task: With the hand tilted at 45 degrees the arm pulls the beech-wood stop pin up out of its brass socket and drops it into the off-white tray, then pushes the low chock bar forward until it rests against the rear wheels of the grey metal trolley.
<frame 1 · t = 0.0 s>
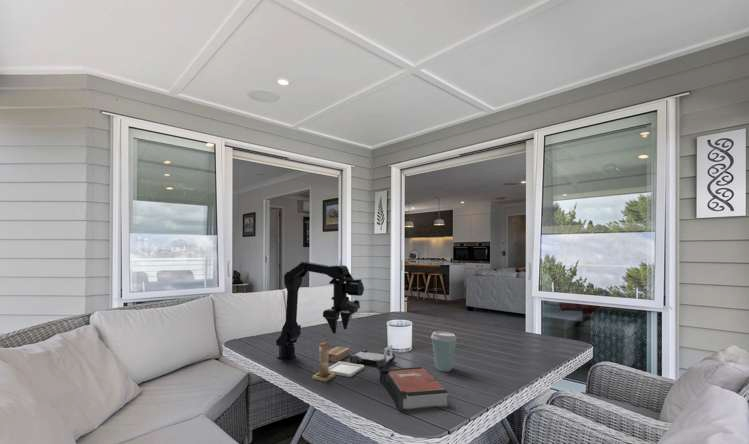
hand: (339, 331, 158), 15 cm above the table, tool pointing down, fingers open, 9 cm apart
disposable coffee cup: (444, 369, 153), on the table
trolley: (372, 362, 162), on the table
tray: (344, 370, 152), on the table
stop pin: (324, 360, 144), in the pin socket
book: (412, 394, 129), on the table
pin socket: (323, 377, 143), on the table
chock bar: (336, 358, 169), on the table
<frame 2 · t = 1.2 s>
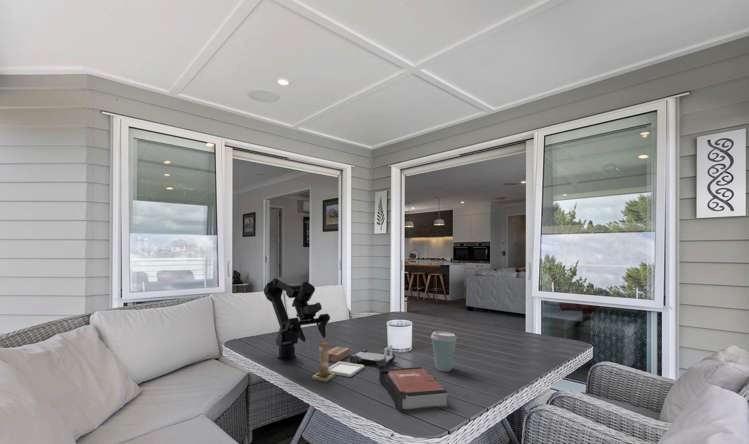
hand: (315, 339, 150), 13 cm above the table, tool tilted 45°, fingers open, 9 cm apart
nothing on the table moved.
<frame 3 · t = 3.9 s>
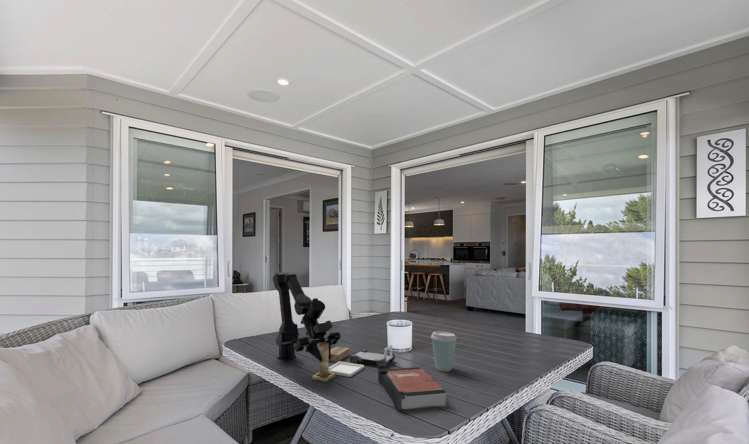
hand: (325, 360, 143), 7 cm above the table, tool tilted 45°, fingers closed on stop pin, 4 cm apart
stop pin: (324, 360, 144), in the pin socket, touching gripper
when the fingers open (8 cm above the table, at t = 6.7 s): stop pin stays where it is, resting on tray.
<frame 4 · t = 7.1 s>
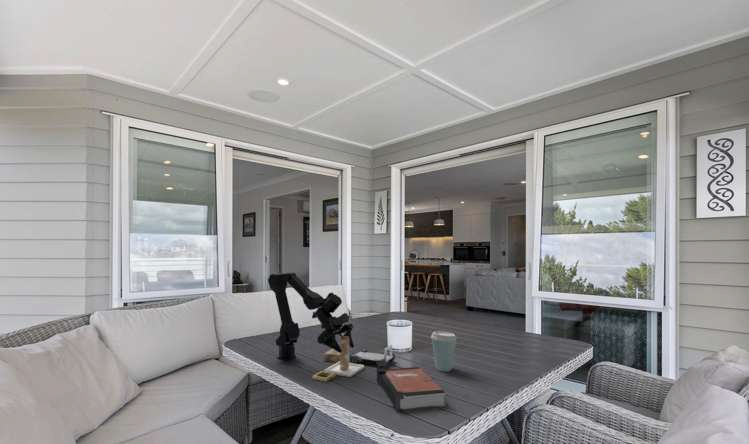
hand: (347, 349, 152), 9 cm above the table, tool tilted 45°, fingers open, 8 cm apart
stop pin: (344, 353, 152), resting on tray
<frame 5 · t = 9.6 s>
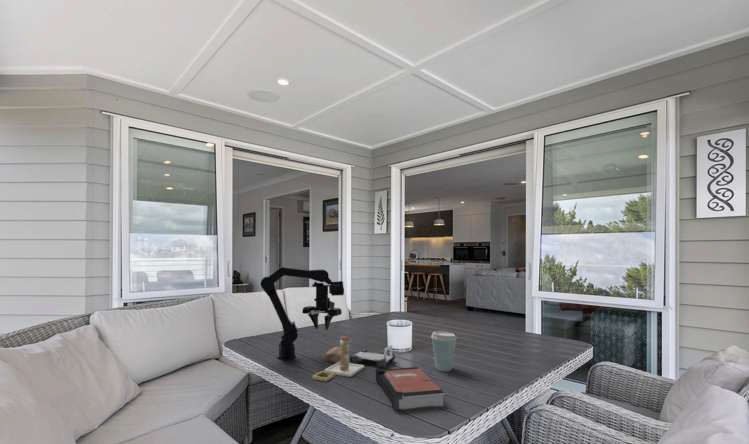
hand: (321, 329, 174), 12 cm above the table, tool pointing down, fingers open, 5 cm apart
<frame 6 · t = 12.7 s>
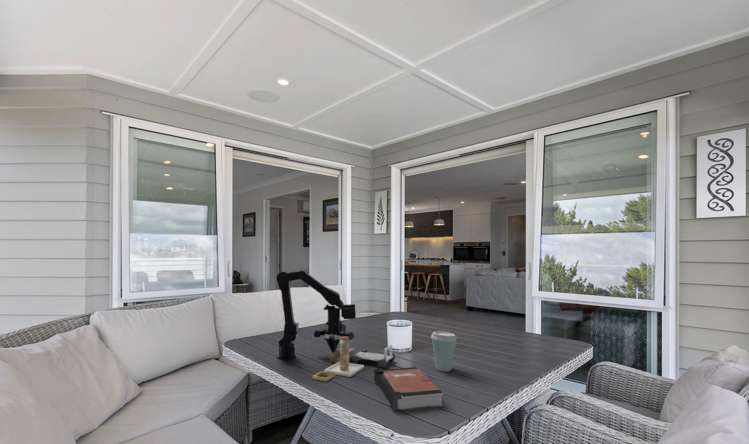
hand: (333, 353, 170), 2 cm above the table, tool pointing down, fingers closed
chock bar: (342, 359, 168), on the table
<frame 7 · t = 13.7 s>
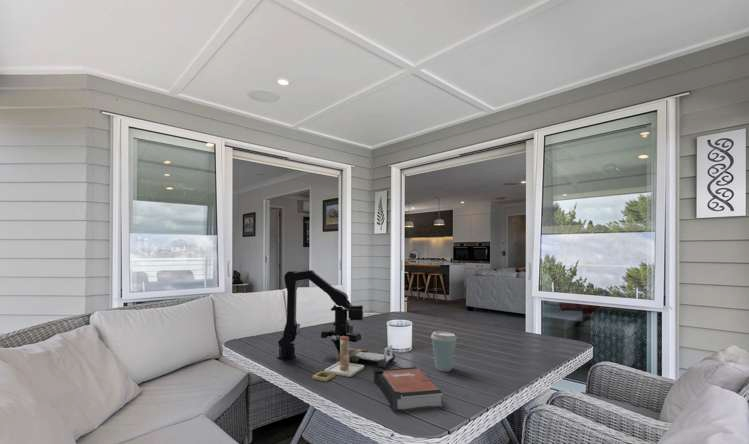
hand: (340, 354, 169), 2 cm above the table, tool pointing down, fingers closed
chock bar: (349, 360, 167), on the table, touching gripper, trolley
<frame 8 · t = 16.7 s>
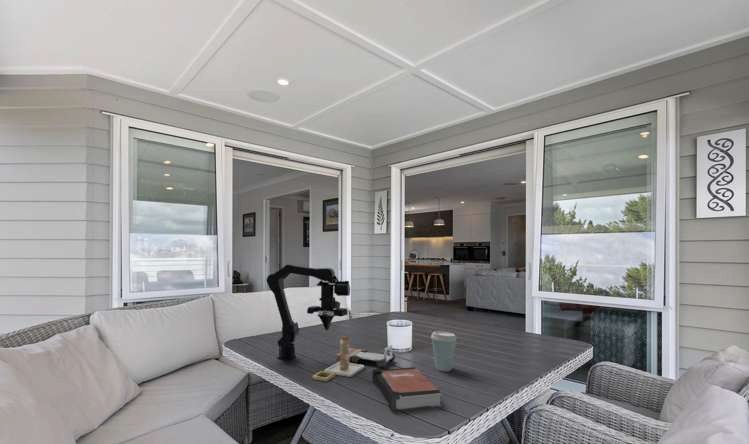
hand: (327, 330, 168), 13 cm above the table, tool pointing down, fingers closed
chock bar: (349, 360, 167), on the table
at the end: stop pin inside the target area on the tray (0.0 cm from its centre), point 6.9 cm above the tray's base; the gripper is holding nothing; chock bar 0.5 cm from the target spot, on the table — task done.
